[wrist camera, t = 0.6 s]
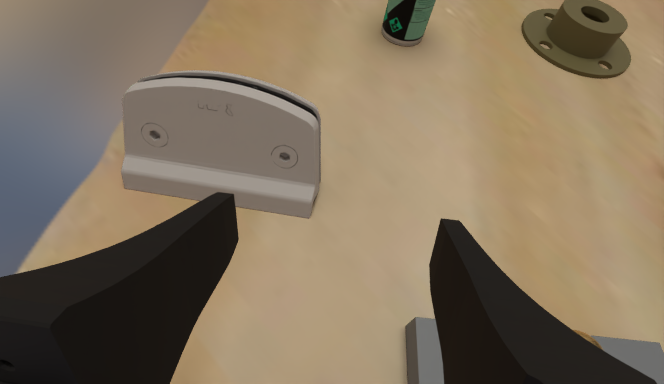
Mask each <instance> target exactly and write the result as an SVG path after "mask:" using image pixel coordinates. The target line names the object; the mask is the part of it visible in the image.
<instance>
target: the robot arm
mask: <svg viewBox="0 0 664 384" xmlns="http://www.w3.org/2000/svg"><path fill="white" fill-rule="evenodd" d="M238 240H239V239H238V228H237V218H236V208H235V198H234V194H231V193H223V192H216V193H214V194H212V195H210V196H209V197H207V198H205V199H203V200H202V201H200V202H198V203H196V204H195V205H193V206H191V207H190V208H188V209H186V210H184V211H183V212H181V213H179V214H177V215H176V216H174V217H172V218H170V219H168V220H166V221H164V222H163V223H161V224H159V225H157V226H155V227H153V228H151V229H149V230H147V231H145V232H143V233H141V234H139V235H137V236H134V237H132V238H130V239H128V240H125V241H123V242H120V243H118V244H116V245H113V246H110V247H108V248H105V249H102V250H99V251H96V252H93V253H91V254H88V255H85V256H82V257H79V258H76V259H73V260H69V261H66V262H62V263H59V264H55V265H51V266H48V267H44V268H40V269H36V270H32V271H28V272H23V273H18V274H13V275H9V276H4V277H0V384H170V382H171V379H172V376H173V374H174V372H175V369H176V367H177V364H178V362H179V359H180V357H181V355H182V352H183V350H184V348H185V345H186V343H187V341H188V339H189V336H190V334H191V332H192V330H193V327H194V325H195V323H196V321H197V319H198V317H199V315H200V314H201V312H202V310H203V308H204V307H205V305H206V303H207V301H208V300H209V298H210V296H211V295H212V293H213V291H214V289H215V288H216V286H217V284H218V282H219V281H220V279H221V277H222V275H223V274H224V272H225V270H226V268H227V266H228V265H229V263H230V260H231V258H232V256H233V253H234V251H235V248H236V245H237V243H238ZM429 267H430V291H431V297H432V303H433V308H434V314H435V320H436V325H437V331H438V336H439V342H440V348H441V354H442V362H443V374H444V384H657V383H656V381H655V380H654V379H652V378H650V377H648V376H647V375H645V374H643V373H641V372H640V371H638V370H636V369H634V368H632V367H631V366H629V365H627V364H625V363H624V362H622V361H620V360H618V359H617V358H615V357H613V356H611V355H610V354H608V353H606V352H605V351H603V350H602V349H600V348H599V347H597V346H596V345H594V344H592V343H591V342H589V341H588V340H586V339H585V338H583V337H582V336H580V335H579V334H577V333H576V332H574V331H573V330H571V329H570V328H569V327H567V326H566V325H565V324H563V323H562V322H561V321H559V320H558V319H557V318H555V317H554V316H553V315H551V314H550V313H549V312H547V311H546V310H545V309H544V308H542V307H541V306H540V305H539V304H537V303H536V302H535V301H534V300H533V299H532V298H530V297H529V296H528V295H527V294H526V293H525V292H524V291H522V290H521V289H520V288H519V287H518V286H517V285H516V284H515V283H514V282H513V281H512V280H511V279H510V278H509V277H508V276H507V275H506V274H505V273H504V272H503V271H502V270H501V269H500V268H499V267H498V266H497V265H496V264H495V263H494V261H493V260H492V259H491V258H490V257H489V256H488V255H487V254H486V252H485V251H484V250H483V249H482V248H481V246H480V245H479V244H478V243H477V242H476V240H475V239H474V238H473V237H472V235H471V234H470V233H469V232H468V230H467V229H466V228H465V227H464V226H463V224H462V223H461V222H460V221H458V220H450V219H441V220H440V224H439V228H438V232H437V236H436V240H435V244H434V248H433V252H432V256H431V260H430V264H429Z"/></svg>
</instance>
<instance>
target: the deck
mask: <svg viewBox="0 0 664 384" xmlns="http://www.w3.org/2000/svg"><path fill="white" fill-rule="evenodd" d="M591 337H593V338H594V339H595V340H596V341H597V342H598V343H599V344H600V345H601V347H602V348H603V350H604V351H605V352H606V353H608V354H610V355H611V356H613V357H615V358H617V359H618V360H620V361H622V362H624V363H625V364H627V365H629V366H631V367H632V368H634V369H636V370H638V371H640V372H641V373H643V374H645V375H647V376H648V377H650V378H652V379H654V380H655V381H656V383H657V384H664V353H663V350H662V348H661V345H660V343H656V342H647V341H637V340H628V339H618V338H609V337H599V336H591ZM406 349H407V375H408V384H444V374H443V362H442V354H441V348H440V342H439V336H438V331H437V325H436V320H435V319H429V318H420V317H415V318H414V319H413V320H412V321H411V322H410V323H408V324H407V325H406Z"/></svg>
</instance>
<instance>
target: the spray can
mask: <svg viewBox="0 0 664 384" xmlns="http://www.w3.org/2000/svg"><path fill="white" fill-rule="evenodd" d="M435 1H436V0H388V4H387V8H386V12H385V16H384V21H383V25H382V34H383V36H384V37H385V38H386V39H387V40H389V41H390V42H392V43H394V44H397V45H401V46H413V45H416V44H418V43H419V42H420V41H421V39H422V37H423V35H424V32H425V29H426V26H427V23H428V20H429V18H430V15H431V12H432V9H433V6H434V3H435Z"/></svg>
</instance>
